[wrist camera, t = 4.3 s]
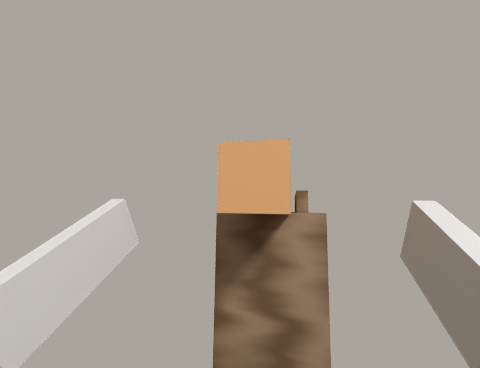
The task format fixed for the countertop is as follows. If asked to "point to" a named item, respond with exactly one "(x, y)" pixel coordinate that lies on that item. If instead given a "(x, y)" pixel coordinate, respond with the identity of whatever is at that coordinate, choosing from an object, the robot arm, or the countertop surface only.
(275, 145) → the light orange bar
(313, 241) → the stand
